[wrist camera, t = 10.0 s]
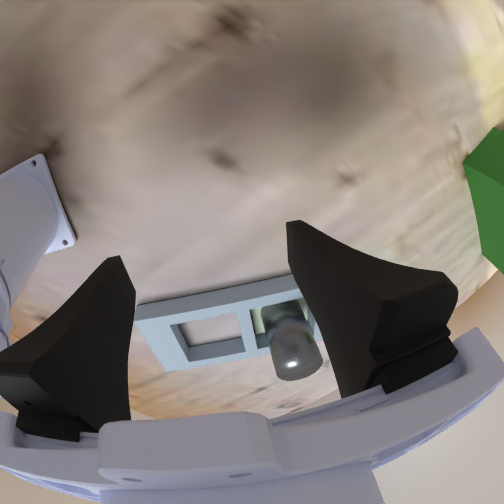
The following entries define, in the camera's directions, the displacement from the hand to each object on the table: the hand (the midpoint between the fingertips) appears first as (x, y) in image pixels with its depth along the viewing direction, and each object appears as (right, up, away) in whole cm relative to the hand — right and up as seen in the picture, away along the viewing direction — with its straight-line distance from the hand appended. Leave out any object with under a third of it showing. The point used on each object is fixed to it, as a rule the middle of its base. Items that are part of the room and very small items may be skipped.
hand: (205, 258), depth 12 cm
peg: (+5, -5, +16) cm, 17 cm away
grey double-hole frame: (+1, -6, +16) cm, 17 cm away
